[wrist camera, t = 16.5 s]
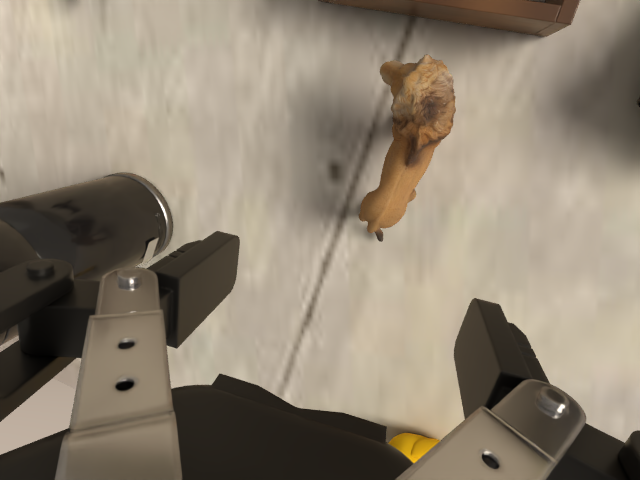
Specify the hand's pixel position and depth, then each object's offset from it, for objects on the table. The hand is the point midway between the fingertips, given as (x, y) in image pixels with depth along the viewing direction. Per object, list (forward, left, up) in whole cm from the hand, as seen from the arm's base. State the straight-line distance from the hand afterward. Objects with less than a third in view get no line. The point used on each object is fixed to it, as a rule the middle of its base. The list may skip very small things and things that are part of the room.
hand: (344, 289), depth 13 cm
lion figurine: (+1, +2, -21) cm, 22 cm away
